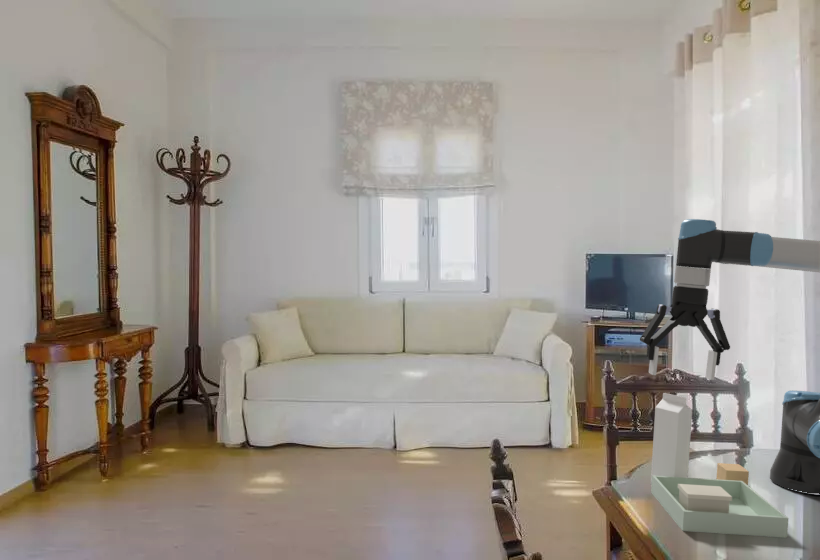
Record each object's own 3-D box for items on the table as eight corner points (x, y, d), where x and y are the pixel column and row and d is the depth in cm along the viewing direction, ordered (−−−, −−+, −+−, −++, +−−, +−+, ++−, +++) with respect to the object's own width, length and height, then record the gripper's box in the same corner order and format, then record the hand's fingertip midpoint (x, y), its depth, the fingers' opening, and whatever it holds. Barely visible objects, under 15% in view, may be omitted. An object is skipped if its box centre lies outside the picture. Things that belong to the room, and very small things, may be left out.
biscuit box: (737, 489, 153) (739, 464, 153) (747, 497, 148) (748, 471, 148) (715, 487, 153) (717, 463, 153) (724, 495, 148) (726, 470, 148)
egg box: (718, 518, 134) (720, 486, 133) (729, 530, 128) (732, 496, 128) (675, 515, 134) (677, 483, 134) (685, 527, 128) (687, 494, 128)
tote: (740, 500, 146) (742, 480, 145) (786, 540, 126) (788, 518, 125) (650, 494, 147) (652, 475, 147) (682, 533, 127) (683, 511, 127)
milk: (673, 493, 148) (679, 399, 147) (649, 485, 153) (655, 393, 152) (687, 488, 152) (693, 396, 151) (664, 480, 157) (669, 391, 155)
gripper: (735, 289, 153) (725, 377, 154) (632, 280, 152) (622, 368, 154) (753, 292, 145) (742, 384, 147) (643, 282, 145) (633, 375, 146)
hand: (681, 376), depth 150 cm, fingers open, 13 cm apart
